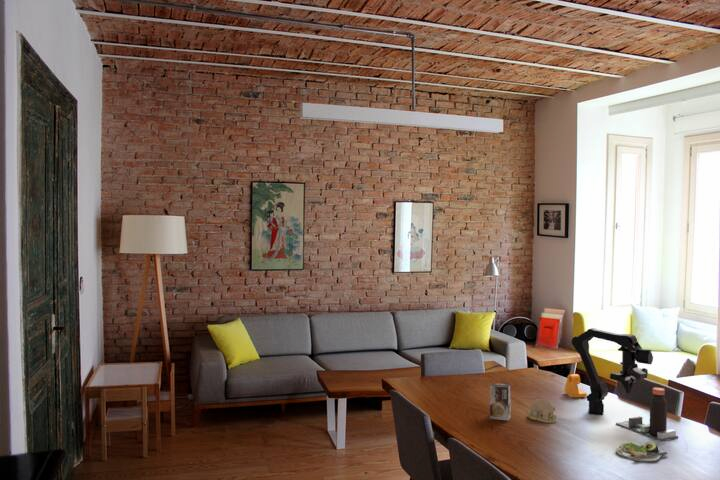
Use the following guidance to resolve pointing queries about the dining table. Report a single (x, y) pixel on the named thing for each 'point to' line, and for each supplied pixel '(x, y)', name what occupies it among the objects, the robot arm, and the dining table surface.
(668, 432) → the vise
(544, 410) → the ceramic model
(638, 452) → the salad plate
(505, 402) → the coffee box
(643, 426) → the sliding jaw
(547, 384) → the dining table surface
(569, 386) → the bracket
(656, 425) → the vinegar
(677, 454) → the dining table surface
